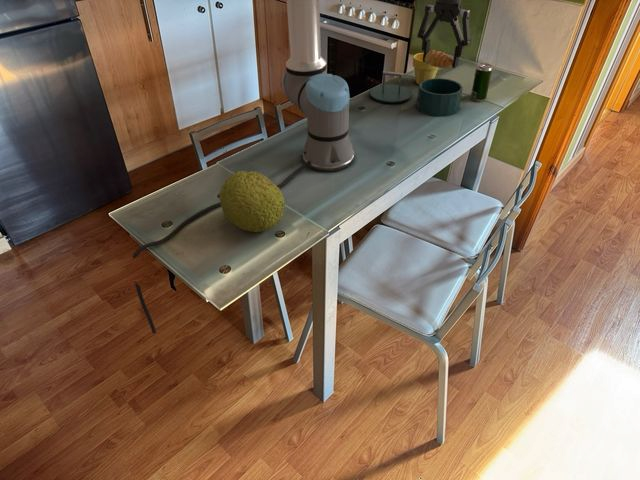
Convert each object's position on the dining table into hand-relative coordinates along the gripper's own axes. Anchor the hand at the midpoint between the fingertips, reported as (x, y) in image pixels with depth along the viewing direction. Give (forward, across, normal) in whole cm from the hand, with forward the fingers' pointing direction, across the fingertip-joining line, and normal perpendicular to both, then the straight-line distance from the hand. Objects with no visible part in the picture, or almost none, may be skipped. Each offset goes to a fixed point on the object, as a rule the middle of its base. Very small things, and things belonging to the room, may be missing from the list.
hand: (440, 63), depth 153 cm
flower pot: (+16, +13, -20) cm, 29 cm away
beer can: (+16, -10, -16) cm, 25 cm away
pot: (+16, 0, -2) cm, 16 cm away
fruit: (+16, +10, +84) cm, 86 cm away
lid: (+15, +18, -2) cm, 24 cm away
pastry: (0, +1, 0) cm, 1 cm away
